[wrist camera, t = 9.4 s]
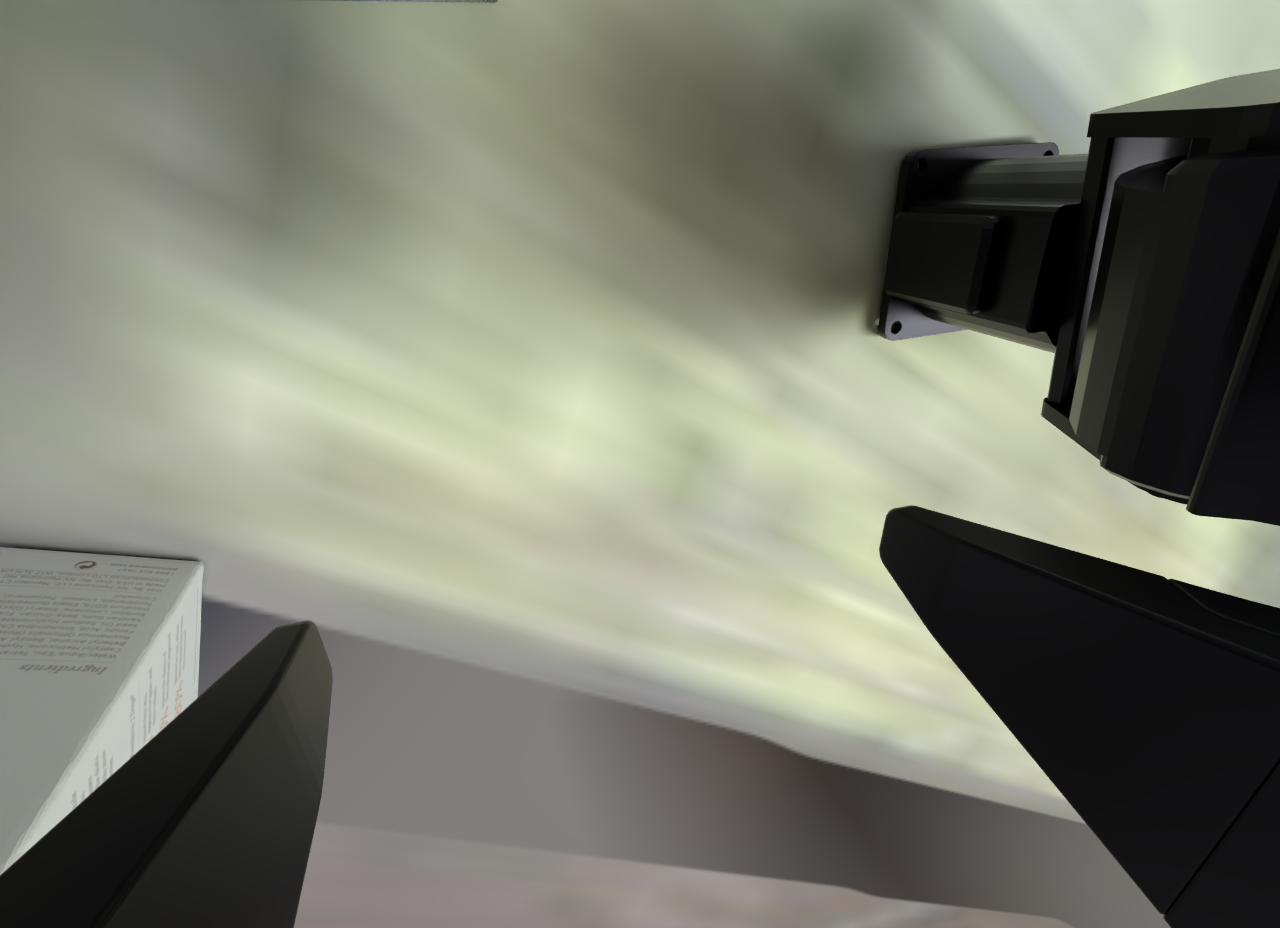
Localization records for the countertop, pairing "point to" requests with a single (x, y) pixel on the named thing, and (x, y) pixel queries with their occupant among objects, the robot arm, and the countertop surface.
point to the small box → (86, 675)
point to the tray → (431, 0)
